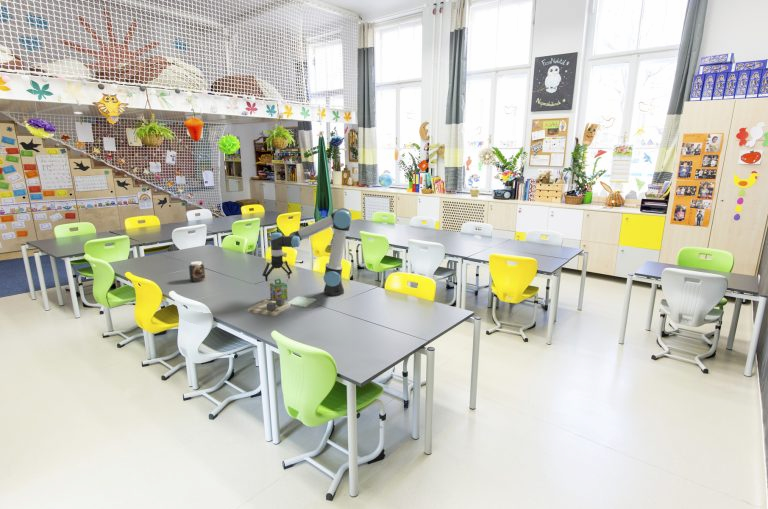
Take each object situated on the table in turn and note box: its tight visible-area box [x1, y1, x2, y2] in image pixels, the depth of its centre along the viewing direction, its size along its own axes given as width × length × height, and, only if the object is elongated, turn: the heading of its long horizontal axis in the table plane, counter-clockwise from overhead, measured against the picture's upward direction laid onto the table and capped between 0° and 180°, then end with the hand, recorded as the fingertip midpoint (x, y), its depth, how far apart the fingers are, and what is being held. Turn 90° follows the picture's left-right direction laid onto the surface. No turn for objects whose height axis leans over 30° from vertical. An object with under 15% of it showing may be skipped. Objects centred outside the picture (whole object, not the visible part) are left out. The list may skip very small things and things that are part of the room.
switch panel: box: [247, 299, 292, 317], centre depth 271 cm, size 20×19×2 cm
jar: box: [188, 260, 206, 283], centre depth 330 cm, size 12×12×15 cm
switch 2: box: [276, 297, 285, 306], centre depth 273 cm, size 4×4×4 cm
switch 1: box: [267, 302, 276, 311], centre depth 263 cm, size 4×4×4 cm
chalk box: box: [269, 278, 289, 301], centre depth 288 cm, size 9×9×15 cm
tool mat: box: [286, 296, 317, 308], centre depth 284 cm, size 15×15×1 cm
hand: (277, 284), depth 287 cm, fingers open, 13 cm apart
